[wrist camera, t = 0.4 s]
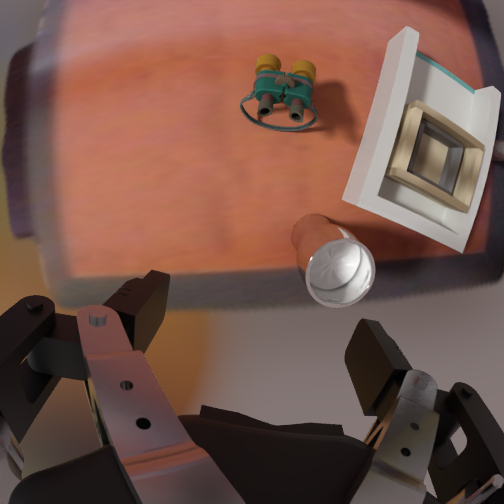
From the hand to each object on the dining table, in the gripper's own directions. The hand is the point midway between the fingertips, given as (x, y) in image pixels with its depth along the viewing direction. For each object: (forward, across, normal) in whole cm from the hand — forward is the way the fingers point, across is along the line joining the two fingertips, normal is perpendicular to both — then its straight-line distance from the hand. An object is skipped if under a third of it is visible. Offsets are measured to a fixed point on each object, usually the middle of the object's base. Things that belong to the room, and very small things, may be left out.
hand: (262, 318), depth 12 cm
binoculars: (+29, +1, -15) cm, 32 cm away
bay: (+29, -20, -16) cm, 39 cm away
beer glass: (+29, -8, +2) cm, 30 cm away
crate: (+27, -20, -14) cm, 36 cm away
